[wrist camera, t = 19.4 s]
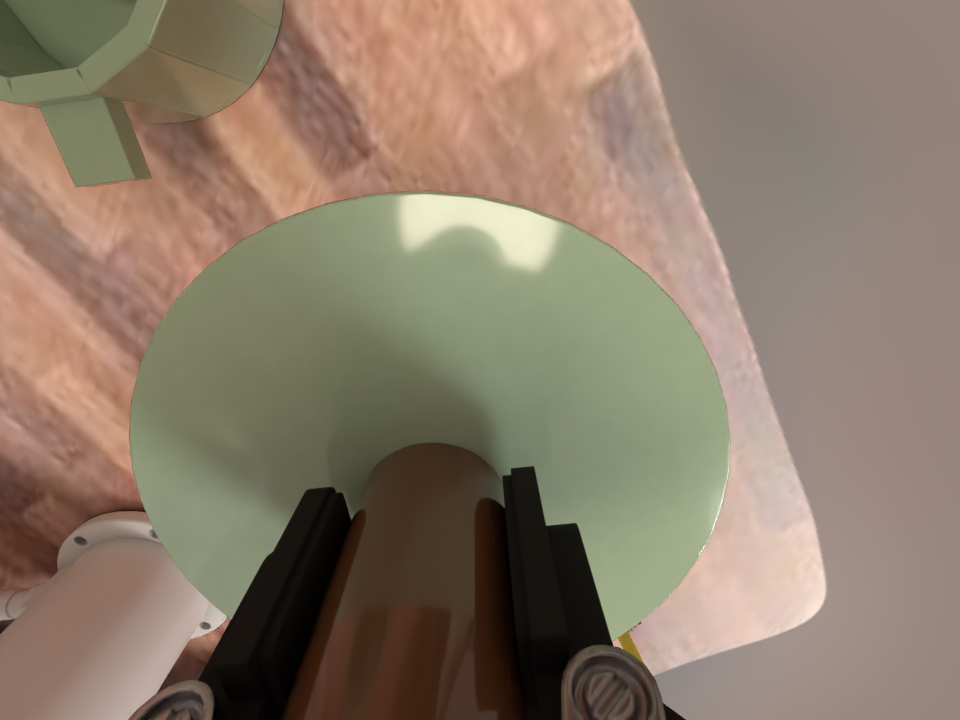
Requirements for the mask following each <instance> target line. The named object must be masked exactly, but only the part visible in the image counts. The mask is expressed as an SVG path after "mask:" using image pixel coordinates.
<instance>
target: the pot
mask: <svg viewBox="0 0 960 720" xmlns="http://www.w3.org/2000/svg"><path fill="white" fill-rule="evenodd" d="M283 3H284V0H0V100H1V101H5V102H8V103H12V104H15V105H22V106H29V107H36V108H40V109H41V112H42V114H43V116H44V118H45V121H46V123H47V125H48V127H49V129H50V132H51V134H52V136H53V138H54V140H55V143H56V145H57V147H58V149H59V152H60V154H61V156H62V158H63V160H64V163H65V165H66V167H67V169H68V172H69V174H70V176H71V178H72V180H73V183H74V185H75V187H96V186H103V185H110V184H118V183H125V182H132V181H139V180H147V179H152V176H151V174H150V171H149V168H148V166H147V163H146V161H145V158H144V155H143V153H142V150H141V148H140V145H139V142H138V140H137V137H136V135H135V132H134V129H133V127H132V124H131V122H130V121H135V122H142V123H149V124H159V123H172V122H186V121H191V120H195V119H200V118H204V117H206V116H209V115H211V114H213V113H216V112H218V111H220V110H222V109H223V108H225V107H227V106H228V105H230V104H231V103H233V102H234V101H235V100H237V99H238V98H239V97H240V96H241V95H242V94H243V93H244V92H246V91H247V89H248V88H249V87H250V86H251V85H252V83H253V82H254V81H255V80H256V79H257V77H258V76H259V74H260V72H261V71H262V69H263V67H264V66H265V64H266V62H267V61H268V58H269V56H270V54H271V51H272V49H273V46H274V44H275V42H276V38H277V34H278V30H279V27H280V23H281V17H282V10H283Z"/></svg>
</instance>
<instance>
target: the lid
mask: <svg viewBox="0 0 960 720" xmlns="http://www.w3.org/2000/svg"><path fill="white" fill-rule="evenodd" d="M129 441H130V450H131V460H132V469H133V473H134V477H135V480H136V484H137V488H138V492H139V495H140V499H141V502H142V504H143V507H144V509H145V511H146V514H147V516H148V518H149V521H150V523H151V525H152V528H153V530H154V532H155V533H156V535H157V537H158V538H159V540H160V542H161V543H162V545H163V547H164V548H165V550H166V551H167V553H168V555H169V556H170V558H171V559H172V561H173V562H174V563H175V564H176V566H177V567H178V568H179V569H180V571H181V572H182V573H183V574H184V576H185V577H186V578H187V579H188V581H189V582H190V583H191V584H192V585H193V586H194V587H195V588H196V589H197V590H198V591H199V592H200V593H201V594H202V595H203V596H204V597H205V598H206V599H207V600H208V601H209V602H210V603H211V604H212V605H213V606H215V607H216V608H217V609H218V610H220V611H221V612H222V613H223V614H225V615H226V616H227V617H228V618H230V619H232V617H233V616H234V614H235V612H236V610H237V608H238V606H239V605H240V603H241V601H242V599H243V597H244V595H245V594H246V592H247V590H248V588H249V586H250V584H251V583H252V581H253V579H254V577H255V575H256V574H257V572H258V570H259V568H260V566H261V564H262V563H263V561H264V560H265V558H266V557H267V556H268V555H269V554H270V553H272V552H273V551H274V549H275V547H276V545H277V543H278V541H279V539H280V538H281V536H282V534H283V532H284V530H285V528H286V526H287V524H288V523H289V521H290V519H291V517H292V515H293V513H294V511H295V510H296V508H297V506H298V504H299V502H300V500H301V498H302V496H303V495H304V493H305V492H306V490H308V489H313V488H323V487H334V488H335V490H336V492H342V493H343V495H344V497H345V501H346V504H347V507H348V511H349V514H350V518H351V524H350V526H349V529H348V532H347V535H346V538H345V540H344V543H343V546H342V549H341V552H340V554H339V557H338V560H337V563H336V566H335V568H334V571H333V574H332V577H331V580H330V583H329V585H328V588H327V591H326V594H325V597H324V599H323V602H322V605H321V608H320V611H319V613H318V616H317V619H316V622H315V625H314V627H313V630H312V633H311V636H310V639H309V641H308V644H307V647H306V650H305V653H304V656H303V658H302V661H301V664H300V667H299V670H298V672H297V675H296V678H295V681H294V684H293V686H292V689H291V692H290V695H289V698H288V700H287V703H286V706H285V709H284V712H283V714H282V717H281V720H529V716H528V706H527V699H526V695H525V691H524V689H523V687H522V679H521V671H520V663H519V655H518V646H517V637H516V627H515V617H514V605H513V594H512V583H511V571H510V560H509V549H508V538H507V526H506V515H505V504H504V493H503V481H502V476H505V475H511V468H520V467H530V466H534V468H535V473H536V478H537V483H538V488H539V493H540V498H541V503H542V508H543V513H544V518H545V523H546V526H549V525H559V524H569V523H576V524H577V525H578V528H579V531H580V534H581V538H582V541H583V544H584V548H585V551H586V555H587V558H588V561H589V565H590V568H591V572H592V575H593V578H594V582H595V585H596V589H597V592H598V596H599V599H600V602H601V606H602V609H603V613H604V616H605V619H606V623H607V626H608V630H609V633H610V637H611V640H612V641H614V640H615V639H617V638H618V637H620V636H621V635H623V634H624V633H626V632H627V631H629V630H630V629H632V628H633V627H634V626H636V625H637V624H639V623H640V622H641V621H642V620H643V619H644V618H646V617H647V616H648V615H649V614H650V613H652V612H653V611H654V610H655V609H656V608H657V607H659V606H660V605H661V604H662V603H663V602H664V601H665V599H666V598H667V597H668V596H669V595H670V594H671V593H672V592H673V591H674V590H675V589H676V588H677V587H678V586H679V585H680V583H681V582H682V581H683V579H684V578H685V576H686V575H687V574H688V572H689V571H690V570H691V568H692V567H693V565H694V564H695V563H696V561H697V560H698V558H699V556H700V555H701V553H702V551H703V549H704V547H705V545H706V543H707V542H708V540H709V538H710V536H711V534H712V532H713V529H714V527H715V524H716V521H717V518H718V516H719V513H720V510H721V508H722V505H723V501H724V496H725V491H726V486H727V481H728V476H729V466H730V443H731V440H730V431H729V423H728V414H727V406H726V402H725V399H724V396H723V392H722V389H721V385H720V382H719V378H718V375H717V371H716V369H715V367H714V365H713V363H712V361H711V359H710V357H709V355H708V353H707V351H706V348H705V346H704V344H703V342H702V340H701V338H700V336H699V335H698V334H697V332H696V331H695V329H694V328H693V326H692V325H691V323H690V322H689V321H688V319H687V318H686V316H685V315H684V313H683V312H682V310H681V309H680V308H679V306H678V305H677V304H676V303H675V302H674V301H673V299H672V298H671V297H670V296H669V295H668V294H667V293H666V292H665V291H664V290H663V289H662V288H661V287H660V286H659V285H658V284H657V283H656V282H655V281H654V280H653V279H652V278H651V277H650V275H649V274H647V273H646V272H645V271H643V270H642V269H641V268H640V267H638V266H637V265H636V264H634V263H633V262H632V261H630V260H629V259H628V258H627V257H625V256H624V255H623V254H621V253H620V252H619V251H617V250H616V249H615V248H614V247H612V246H610V245H609V244H607V243H605V242H603V241H601V240H600V239H598V238H596V237H594V236H592V235H591V234H589V233H587V232H585V231H583V230H582V229H580V228H578V227H576V226H574V225H573V224H571V223H569V222H567V221H564V220H561V219H559V218H556V217H553V216H551V215H548V214H546V213H543V212H540V211H538V210H535V209H533V208H530V207H527V206H525V205H521V204H517V203H512V202H508V201H504V200H499V199H495V198H491V197H486V196H482V195H477V194H467V193H455V192H444V191H432V190H421V191H403V192H384V193H375V194H370V195H365V196H360V197H355V198H350V199H345V200H340V201H335V202H330V203H326V204H323V205H320V206H317V207H314V208H312V209H309V210H306V211H303V212H300V213H298V214H295V215H292V216H289V217H286V218H283V219H281V220H279V221H277V222H275V223H273V224H272V225H270V226H268V227H266V228H264V229H262V230H260V231H258V232H257V233H255V234H253V235H251V236H249V237H247V238H245V239H244V240H242V241H240V242H239V243H237V244H236V245H235V246H233V247H232V248H231V249H230V250H228V251H227V252H226V253H224V254H223V255H222V256H220V257H219V258H218V259H216V260H215V261H214V262H212V263H211V264H210V265H209V266H207V267H206V268H205V269H204V270H203V271H202V272H201V273H200V274H199V275H198V276H197V277H196V278H195V279H194V280H193V282H192V283H191V284H190V285H189V286H188V287H187V288H186V289H185V290H184V291H183V292H182V293H181V294H180V295H179V296H178V297H177V299H176V300H175V302H174V303H173V305H172V306H171V308H170V309H169V311H168V312H167V314H166V315H165V317H164V318H163V320H162V321H161V323H160V324H159V326H158V327H157V329H156V330H155V332H154V335H153V337H152V339H151V341H150V344H149V346H148V348H147V351H146V353H145V355H144V358H143V360H142V362H141V364H140V367H139V371H138V375H137V379H136V383H135V388H134V392H133V396H132V400H131V412H130V428H129Z"/></svg>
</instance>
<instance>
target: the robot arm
mask: <svg viewBox="0 0 960 720" xmlns="http://www.w3.org/2000/svg"><path fill="white" fill-rule="evenodd" d="M502 481H503V493H504V504H505V515H506V526H507V538H508V549H509V560H510V571H511V583H512V594H513V605H514V617H515V627H516V637H517V646H518V655H519V663H520V671H521V679H522V687H523V689H524V691H525V695H526V699H527V706H528V716H529V720H685V719H684V718H683V717H681V716H680V715H678V714H677V713H676V712H675V711H673V710H672V709H670V708H669V707H667V706H666V705H665V704H664V703H663V702H662V697H661V694H660V691H659V688H658V686H657V683H656V680H655V679H654V677H653V676H652V674H651V673H650V671H649V670H648V668H647V667H646V666H645V665H644V664H643V663H642V662H641V661H640V660H639V659H637V658H636V657H635V656H634V655H633V654H631V653H629V652H627V651H625V650H623V649H621V648H619V647H614V646H613V643H612V640H611V637H610V633H609V630H608V626H607V623H606V619H605V616H604V613H603V609H602V606H601V602H600V599H599V596H598V592H597V589H596V585H595V582H594V578H593V575H592V572H591V568H590V565H589V561H588V558H587V555H586V551H585V548H584V544H583V541H582V538H581V534H580V531H579V528H578V525H577V524H576V523H569V524H559V525H549V526H546V523H545V518H544V513H543V508H542V503H541V498H540V493H539V488H538V483H537V478H536V473H535V468H534V466H530V467H520V468H511V475H505V476H502ZM350 524H351V518H350V514H349V511H348V507H347V504H346V501H345V497H344V495H343V493H342V492H336V490H335V488H334V487H323V488H313V489H308V490H306V492H305V493H304V495H303V496H302V498H301V500H300V502H299V504H298V506H297V508H296V510H295V511H294V513H293V515H292V517H291V519H290V521H289V523H288V524H287V526H286V528H285V530H284V532H283V534H282V536H281V538H280V539H279V541H278V543H277V545H276V547H275V549H274V551H273V552H272V553H270V554H269V555H268V556H267V557H266V558H265V560H264V561H263V563H262V564H261V566H260V568H259V570H258V572H257V574H256V575H255V577H254V579H253V581H252V583H251V584H250V586H249V588H248V590H247V592H246V594H245V595H244V597H243V599H242V601H241V603H240V605H239V606H238V608H237V610H236V612H235V614H234V616H233V617H232V619H231V621H230V623H229V625H228V626H227V628H226V630H225V632H224V634H223V636H222V637H221V639H220V641H219V643H218V645H217V647H216V648H215V650H214V652H213V654H212V656H211V658H210V659H209V661H208V663H207V665H206V667H205V669H204V670H203V672H202V674H201V676H200V678H199V679H198V681H197V680H193V681H183V682H180V683H177V684H175V685H172V686H169V687H167V688H166V689H164V690H162V691H161V692H159V693H157V691H158V690H159V688H160V686H161V685H162V683H163V682H164V680H165V678H166V677H167V675H168V674H169V672H170V670H171V669H172V667H173V665H174V664H175V662H176V661H177V659H178V657H179V656H180V654H181V652H182V651H183V649H184V648H185V646H186V644H187V643H188V641H189V640H190V639H193V638H196V637H199V636H202V635H205V634H207V633H209V632H211V631H213V630H214V629H216V628H217V627H218V626H219V625H221V624H222V623H223V622H224V621H225V619H226V618H227V616H226V615H225V614H223V613H222V612H221V611H220V610H218V609H217V608H216V607H215V606H213V605H212V604H211V603H210V602H209V601H208V600H207V599H206V598H205V597H204V596H203V595H202V594H201V593H200V592H199V591H198V590H197V589H196V588H195V587H194V586H193V585H192V584H191V583H190V582H189V581H188V579H187V578H186V577H185V576H184V574H183V573H182V572H181V571H180V569H179V568H178V567H177V566H176V564H175V563H174V562H173V561H172V559H171V558H170V556H169V555H168V553H167V551H166V550H165V548H164V547H163V545H162V543H161V542H160V540H159V538H158V537H157V535H156V533H155V532H154V530H153V528H152V525H151V523H150V521H149V518H148V516H147V514H146V512H138V511H117V512H112V513H107V514H102V515H99V516H97V517H94V518H92V519H89V520H88V521H86V522H85V523H84V524H82V525H81V526H79V527H78V528H77V529H76V530H75V531H74V532H73V533H72V534H71V535H70V536H69V537H67V538H66V539H65V541H64V542H63V544H62V546H61V547H60V549H59V553H58V558H57V567H58V572H57V573H56V574H55V575H54V576H53V577H52V578H51V579H50V580H49V581H48V582H44V583H40V584H37V585H36V586H34V587H33V588H31V589H24V588H23V589H12V590H2V591H0V620H10V619H16V618H17V619H16V620H15V621H13V622H12V623H11V624H10V625H9V626H8V627H7V628H6V629H5V630H4V631H3V632H2V633H1V634H0V720H281V717H282V714H283V712H284V709H285V706H286V703H287V700H288V698H289V695H290V692H291V689H292V686H293V684H294V681H295V678H296V675H297V672H298V670H299V667H300V664H301V661H302V658H303V656H304V653H305V650H306V647H307V644H308V641H309V639H310V636H311V633H312V630H313V627H314V625H315V622H316V619H317V616H318V613H319V611H320V608H321V605H322V602H323V599H324V597H325V594H326V591H327V588H328V585H329V583H330V580H331V577H332V574H333V571H334V568H335V566H336V563H337V560H338V557H339V554H340V552H341V549H342V546H343V543H344V540H345V538H346V535H347V532H348V529H349V526H350ZM156 693H157V694H156Z"/></svg>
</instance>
